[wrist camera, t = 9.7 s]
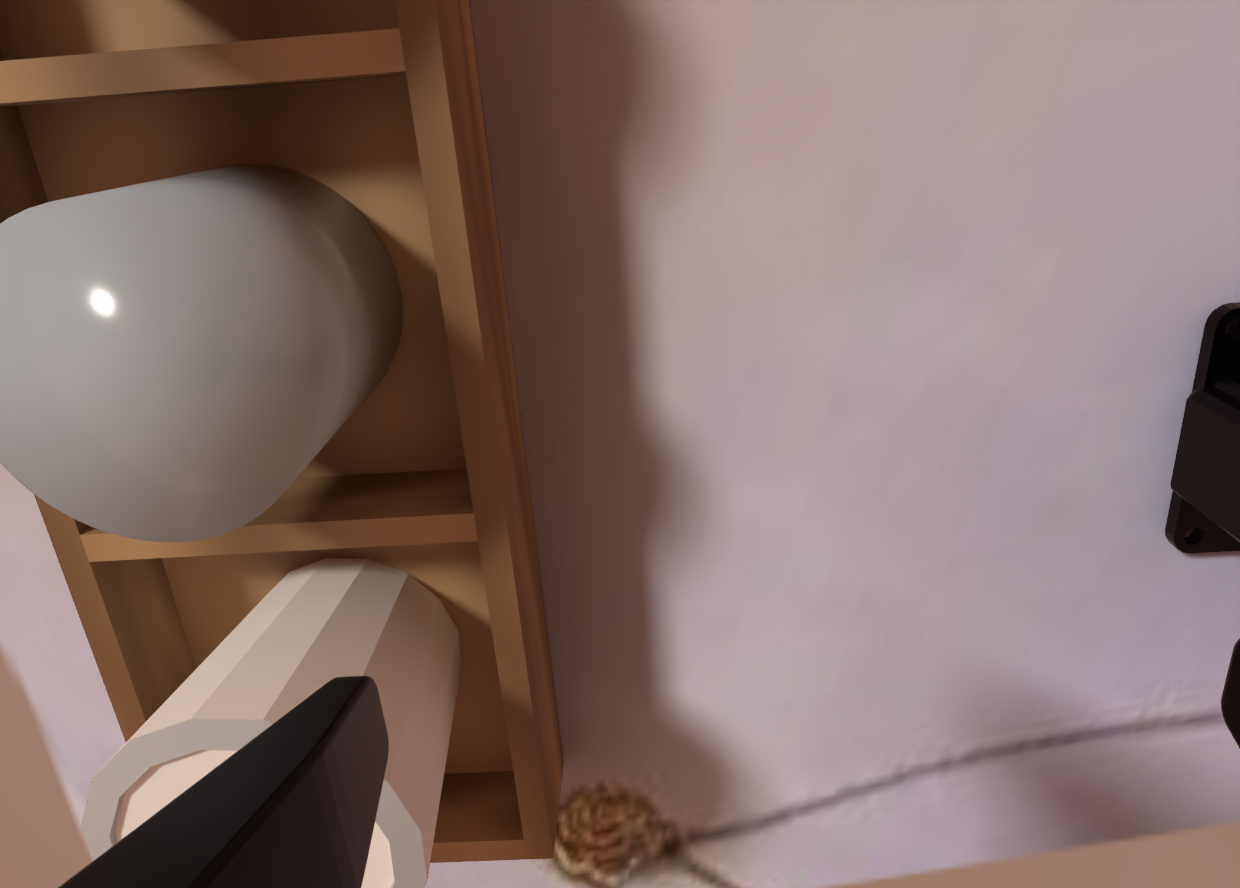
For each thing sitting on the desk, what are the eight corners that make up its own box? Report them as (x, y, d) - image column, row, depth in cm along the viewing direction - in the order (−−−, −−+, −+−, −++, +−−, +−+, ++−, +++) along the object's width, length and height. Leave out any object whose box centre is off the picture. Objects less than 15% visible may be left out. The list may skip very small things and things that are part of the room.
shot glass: (534, 677, 24) (495, 898, 17) (345, 780, 25) (246, 1018, 19) (374, 489, 22) (262, 662, 15) (179, 615, 23) (2, 819, 17)
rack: (395, -588, 15) (328, -775, 12) (563, 762, 26) (552, 858, 23) (-182, -521, 15) (-402, -682, 12) (230, 776, 27) (174, 871, 24)
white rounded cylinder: (377, 153, 19) (266, 184, 13) (422, 414, 21) (343, 533, 15) (107, 173, 19) (-113, 211, 13) (180, 428, 21) (18, 551, 16)
